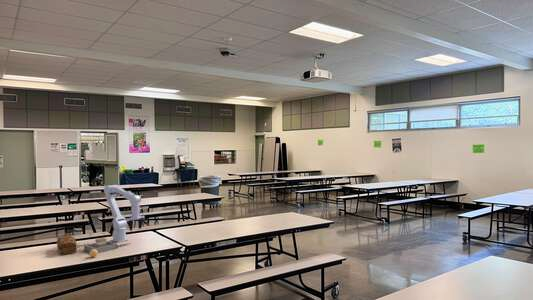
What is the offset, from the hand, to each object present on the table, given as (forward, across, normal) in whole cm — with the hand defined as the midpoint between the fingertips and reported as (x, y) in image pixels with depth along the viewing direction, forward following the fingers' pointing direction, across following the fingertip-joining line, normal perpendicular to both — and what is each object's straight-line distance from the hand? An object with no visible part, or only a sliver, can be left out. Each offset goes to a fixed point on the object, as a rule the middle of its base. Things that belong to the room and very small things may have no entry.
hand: (135, 229), depth 262 cm
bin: (+10, -25, +4) cm, 27 cm away
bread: (+10, -41, +20) cm, 46 cm away
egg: (+10, -37, -9) cm, 39 cm away
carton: (+10, -25, +4) cm, 27 cm away
